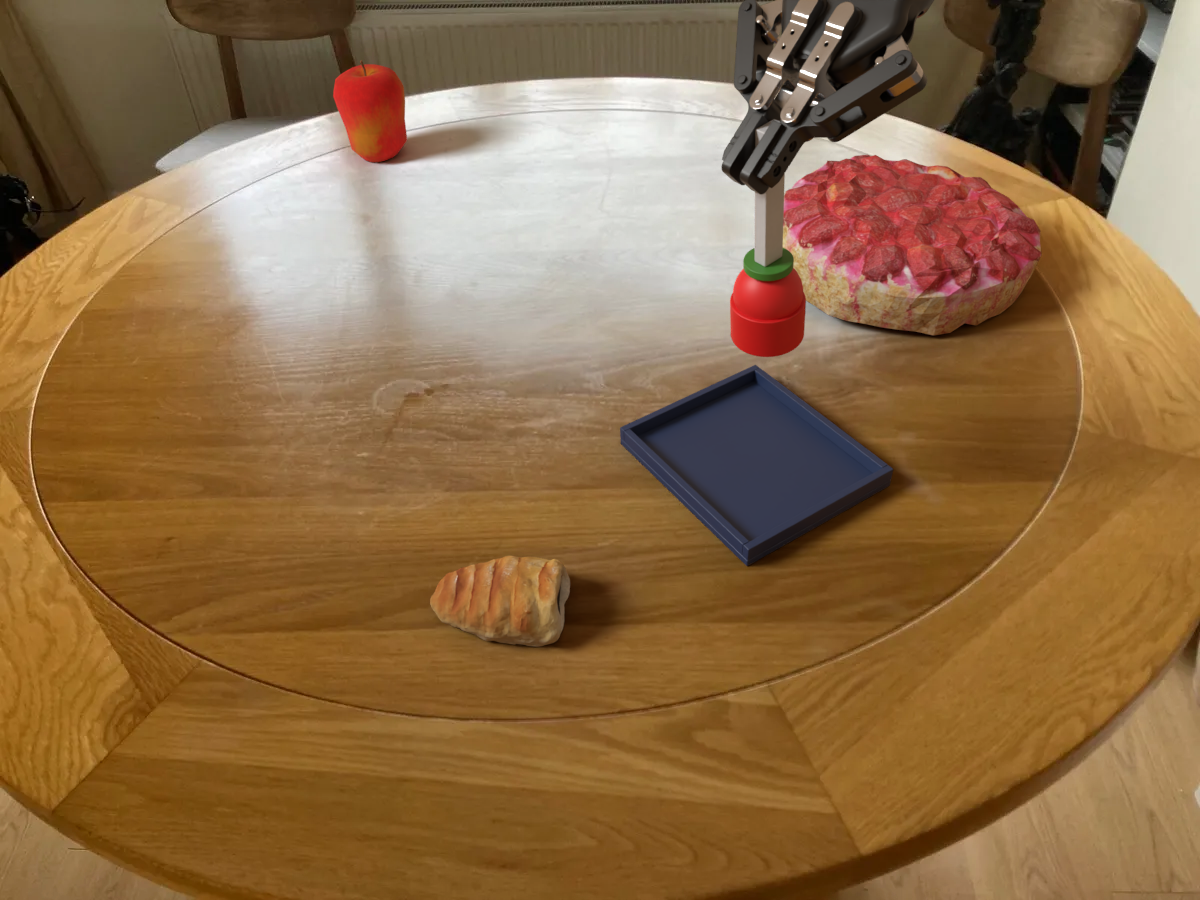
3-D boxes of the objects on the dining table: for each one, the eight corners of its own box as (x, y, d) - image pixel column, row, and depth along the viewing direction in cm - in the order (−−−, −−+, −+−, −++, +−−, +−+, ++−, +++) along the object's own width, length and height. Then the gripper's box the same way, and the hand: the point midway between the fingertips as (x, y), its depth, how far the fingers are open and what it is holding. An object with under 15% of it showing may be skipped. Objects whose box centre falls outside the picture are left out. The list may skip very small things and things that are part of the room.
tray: (890, 485, 74) (893, 468, 73) (746, 566, 69) (748, 550, 67) (754, 380, 84) (755, 364, 83) (620, 443, 79) (619, 427, 78)
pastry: (426, 648, 64) (416, 612, 62) (444, 572, 69) (436, 536, 67) (564, 652, 64) (560, 616, 61) (573, 574, 69) (569, 538, 66)
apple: (418, 164, 119) (400, 68, 111) (349, 173, 117) (326, 77, 109) (411, 135, 125) (395, 42, 117) (346, 144, 124) (325, 51, 116)
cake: (727, 223, 102) (736, 154, 97) (931, 189, 108) (951, 122, 102) (838, 367, 86) (856, 294, 80) (1072, 318, 92) (1104, 246, 86)
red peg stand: (819, 332, 66) (833, 123, 55) (767, 367, 64) (771, 158, 53) (766, 302, 69) (769, 97, 58) (715, 334, 67) (708, 129, 56)
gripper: (794, -158, 54) (631, 117, 57) (1002, -119, 46) (799, 198, 49) (845, -75, 60) (695, 171, 63) (1037, -27, 52) (854, 251, 55)
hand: (741, 182), depth 56 cm, fingers closed on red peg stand, 1 cm apart
